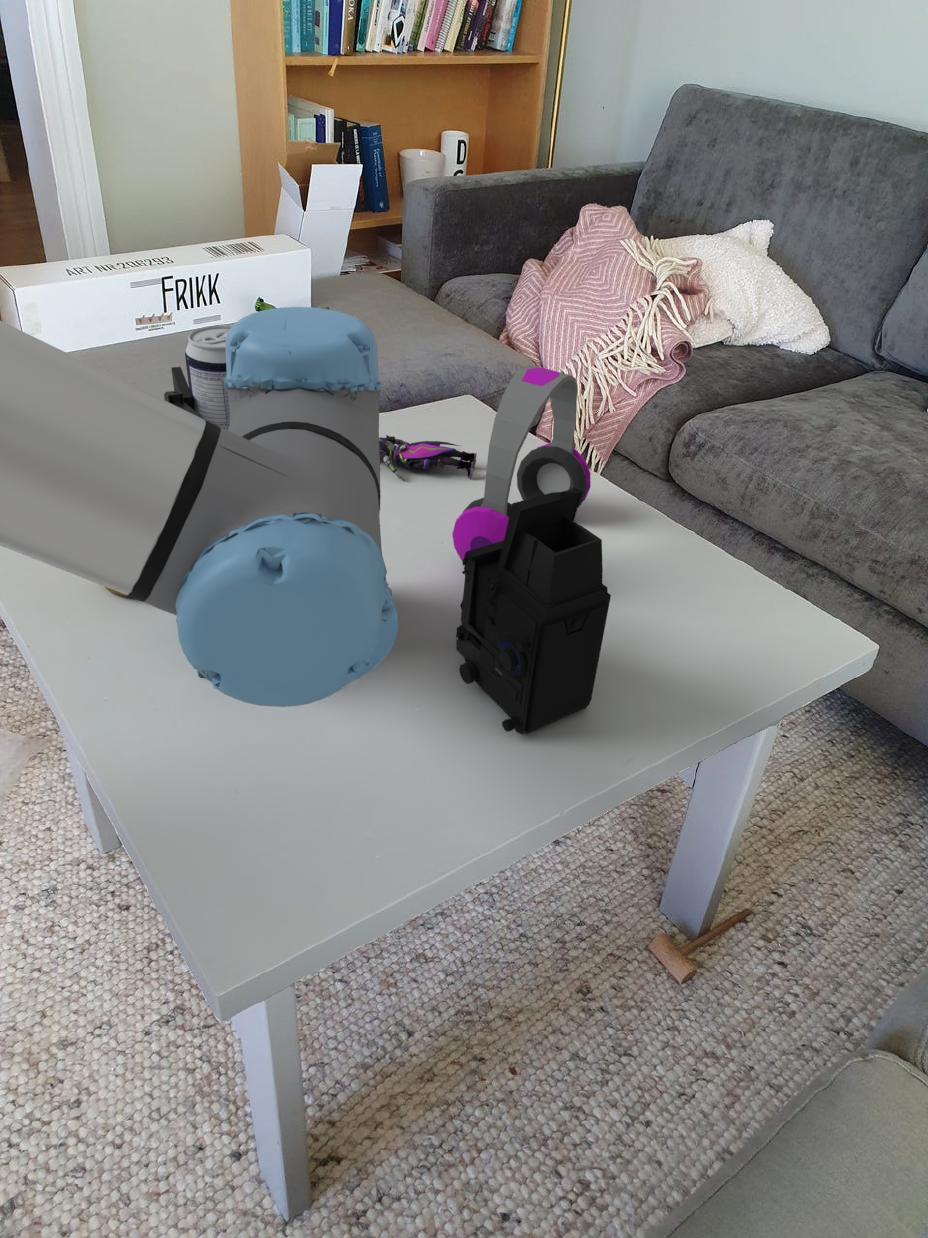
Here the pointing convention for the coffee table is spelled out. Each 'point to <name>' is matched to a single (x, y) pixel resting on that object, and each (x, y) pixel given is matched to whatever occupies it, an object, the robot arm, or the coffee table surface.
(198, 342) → the beverage can
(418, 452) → the character figure
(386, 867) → the coffee table surface
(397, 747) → the coffee table surface
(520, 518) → the camera
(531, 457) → the headphones
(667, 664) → the coffee table surface
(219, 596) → the robot arm
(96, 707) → the coffee table surface
